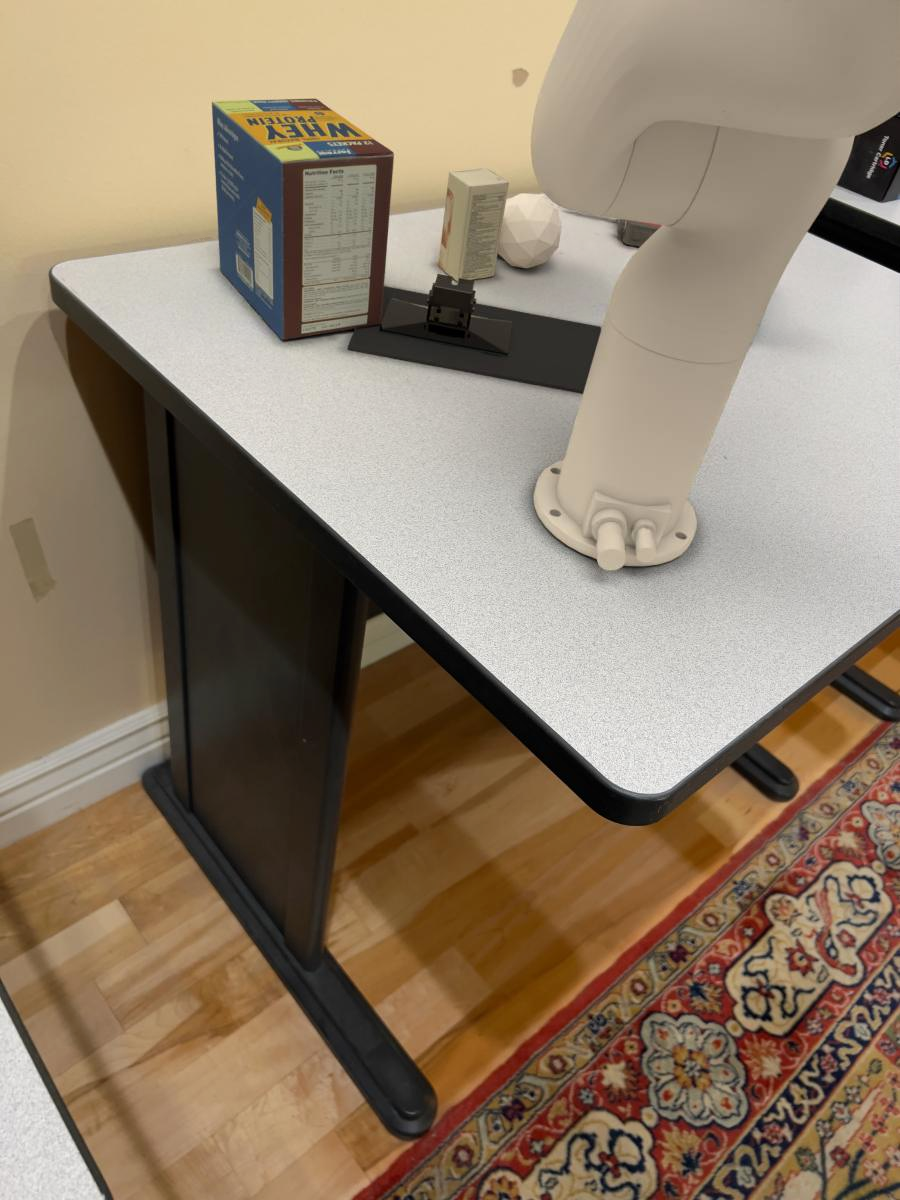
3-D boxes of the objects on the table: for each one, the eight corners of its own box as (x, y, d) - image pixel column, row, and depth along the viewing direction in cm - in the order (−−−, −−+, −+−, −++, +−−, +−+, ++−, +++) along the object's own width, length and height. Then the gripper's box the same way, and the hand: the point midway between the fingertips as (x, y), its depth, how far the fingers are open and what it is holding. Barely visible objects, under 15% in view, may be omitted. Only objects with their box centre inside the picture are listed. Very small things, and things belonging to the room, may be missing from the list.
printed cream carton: (473, 260, 100) (489, 166, 93) (494, 277, 97) (512, 182, 91) (434, 265, 97) (447, 169, 91) (455, 282, 95) (470, 185, 88)
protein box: (312, 259, 93) (316, 96, 83) (383, 326, 85) (397, 152, 74) (217, 270, 89) (208, 98, 78) (280, 342, 80) (281, 159, 69)
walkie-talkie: (711, 237, 117) (562, 209, 116) (723, 203, 114) (570, 174, 113) (720, 264, 111) (562, 234, 110) (733, 228, 108) (571, 197, 107)
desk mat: (604, 397, 82) (605, 394, 82) (347, 349, 81) (347, 346, 81) (600, 329, 92) (600, 326, 92) (372, 286, 91) (372, 283, 91)
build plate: (511, 325, 89) (521, 281, 86) (507, 359, 84) (517, 313, 81) (390, 300, 89) (395, 255, 86) (378, 333, 83) (383, 286, 80)
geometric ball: (532, 287, 104) (586, 245, 99) (491, 275, 97) (546, 229, 93) (508, 232, 105) (560, 187, 100) (467, 216, 99) (520, 168, 94)
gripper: (588, -167, 58) (530, 137, 70) (811, -123, 58) (714, 171, 71) (583, -168, 63) (530, 114, 75) (786, -128, 64) (701, 145, 76)
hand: (619, 141), depth 73 cm, fingers closed
